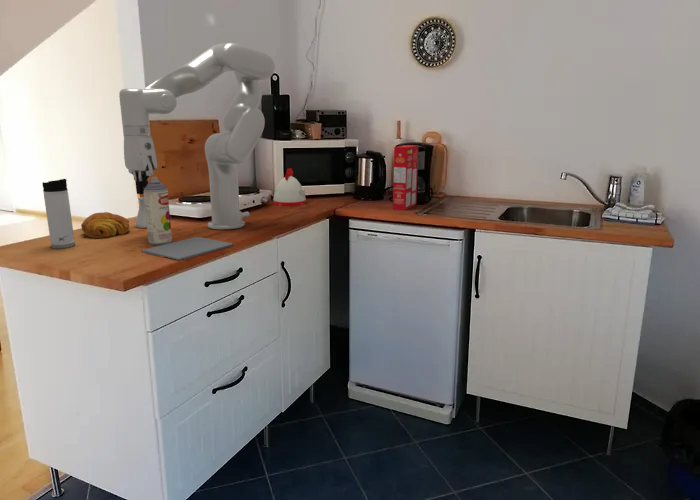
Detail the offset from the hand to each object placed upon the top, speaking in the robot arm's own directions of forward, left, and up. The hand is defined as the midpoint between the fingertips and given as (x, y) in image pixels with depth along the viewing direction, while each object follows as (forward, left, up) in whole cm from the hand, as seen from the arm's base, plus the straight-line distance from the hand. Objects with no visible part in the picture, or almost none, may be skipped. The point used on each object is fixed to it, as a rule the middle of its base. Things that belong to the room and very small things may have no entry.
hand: (142, 193), depth 163 cm
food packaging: (-97, +38, -15) cm, 105 cm away
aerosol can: (0, +6, -15) cm, 16 cm away
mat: (0, +19, -15) cm, 24 cm away
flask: (-12, -18, -15) cm, 26 cm away
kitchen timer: (-76, -7, -15) cm, 78 cm away
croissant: (+2, -19, -15) cm, 24 cm away
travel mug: (+19, -14, -15) cm, 28 cm away
